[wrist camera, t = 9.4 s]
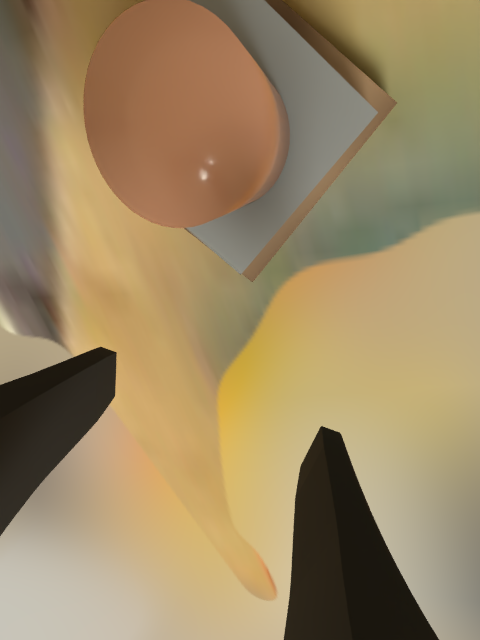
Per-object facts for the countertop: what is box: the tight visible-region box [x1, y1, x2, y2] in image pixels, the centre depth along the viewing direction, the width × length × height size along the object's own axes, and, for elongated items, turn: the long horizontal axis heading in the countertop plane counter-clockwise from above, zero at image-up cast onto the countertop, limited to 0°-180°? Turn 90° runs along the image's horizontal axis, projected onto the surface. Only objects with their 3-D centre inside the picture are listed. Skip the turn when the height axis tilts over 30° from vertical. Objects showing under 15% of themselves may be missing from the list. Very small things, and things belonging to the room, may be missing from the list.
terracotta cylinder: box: [84, 0, 290, 228], centre depth 10 cm, size 5×5×5 cm
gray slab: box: [187, 0, 378, 274], centre depth 14 cm, size 8×8×2 cm
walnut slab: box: [184, 0, 397, 282], centre depth 16 cm, size 10×10×2 cm
